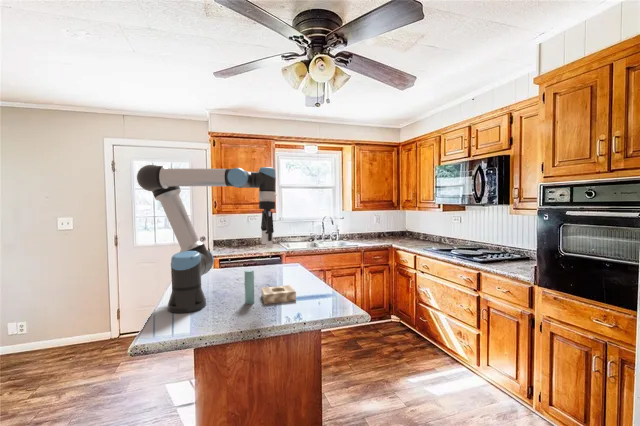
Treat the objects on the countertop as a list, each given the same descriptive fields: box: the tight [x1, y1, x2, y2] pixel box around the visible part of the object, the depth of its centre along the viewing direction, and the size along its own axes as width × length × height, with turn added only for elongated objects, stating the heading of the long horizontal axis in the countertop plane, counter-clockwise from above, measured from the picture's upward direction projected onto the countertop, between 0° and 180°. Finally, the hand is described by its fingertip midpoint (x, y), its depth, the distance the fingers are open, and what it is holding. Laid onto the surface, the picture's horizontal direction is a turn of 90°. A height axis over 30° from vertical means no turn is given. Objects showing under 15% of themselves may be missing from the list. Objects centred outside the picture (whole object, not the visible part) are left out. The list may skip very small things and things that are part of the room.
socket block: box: [260, 284, 297, 305], centre depth 146 cm, size 14×12×4 cm
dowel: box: [244, 269, 255, 305], centre depth 140 cm, size 4×4×14 cm
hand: (266, 246), depth 149 cm, fingers open, 13 cm apart
